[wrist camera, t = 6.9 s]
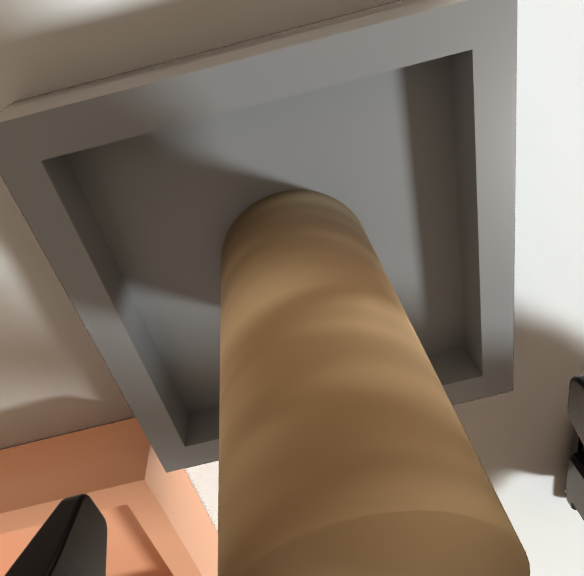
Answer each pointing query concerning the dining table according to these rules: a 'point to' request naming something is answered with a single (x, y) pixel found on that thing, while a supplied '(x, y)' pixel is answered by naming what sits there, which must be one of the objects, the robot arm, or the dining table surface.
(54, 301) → the dining table surface
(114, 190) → the charcoal tray
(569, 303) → the dining table surface
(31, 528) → the terracotta dish
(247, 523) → the maple peg
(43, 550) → the robot arm
